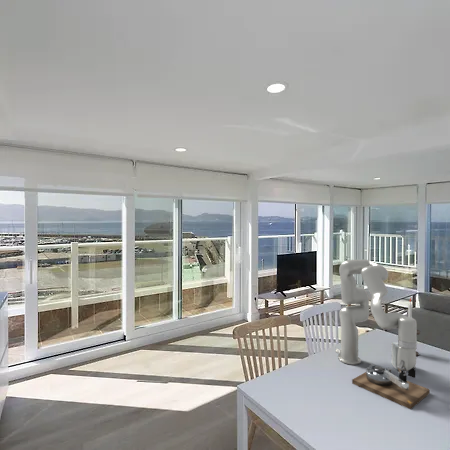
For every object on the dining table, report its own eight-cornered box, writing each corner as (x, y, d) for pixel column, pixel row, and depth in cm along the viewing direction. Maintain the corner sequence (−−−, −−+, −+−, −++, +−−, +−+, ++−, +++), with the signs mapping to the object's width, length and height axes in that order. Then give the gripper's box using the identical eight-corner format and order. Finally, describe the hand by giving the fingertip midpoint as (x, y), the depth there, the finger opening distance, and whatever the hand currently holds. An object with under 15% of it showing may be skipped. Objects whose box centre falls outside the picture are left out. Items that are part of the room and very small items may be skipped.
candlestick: (424, 357, 185) (424, 299, 185) (406, 356, 185) (406, 299, 185) (413, 349, 196) (413, 295, 196) (396, 349, 196) (396, 295, 196)
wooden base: (352, 383, 153) (352, 379, 153) (373, 371, 166) (373, 367, 166) (410, 409, 132) (410, 404, 132) (429, 393, 144) (429, 388, 144)
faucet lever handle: (361, 375, 157) (361, 362, 157) (381, 372, 160) (381, 360, 160) (396, 401, 134) (396, 386, 134) (419, 397, 137) (419, 383, 137)
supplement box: (410, 371, 167) (410, 347, 167) (395, 369, 168) (395, 346, 168) (405, 365, 174) (405, 342, 174) (391, 363, 176) (391, 341, 176)
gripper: (406, 337, 153) (406, 371, 153) (390, 345, 142) (390, 382, 142) (423, 342, 147) (423, 377, 147) (408, 350, 136) (408, 389, 136)
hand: (407, 379), depth 144 cm, fingers open, 9 cm apart
